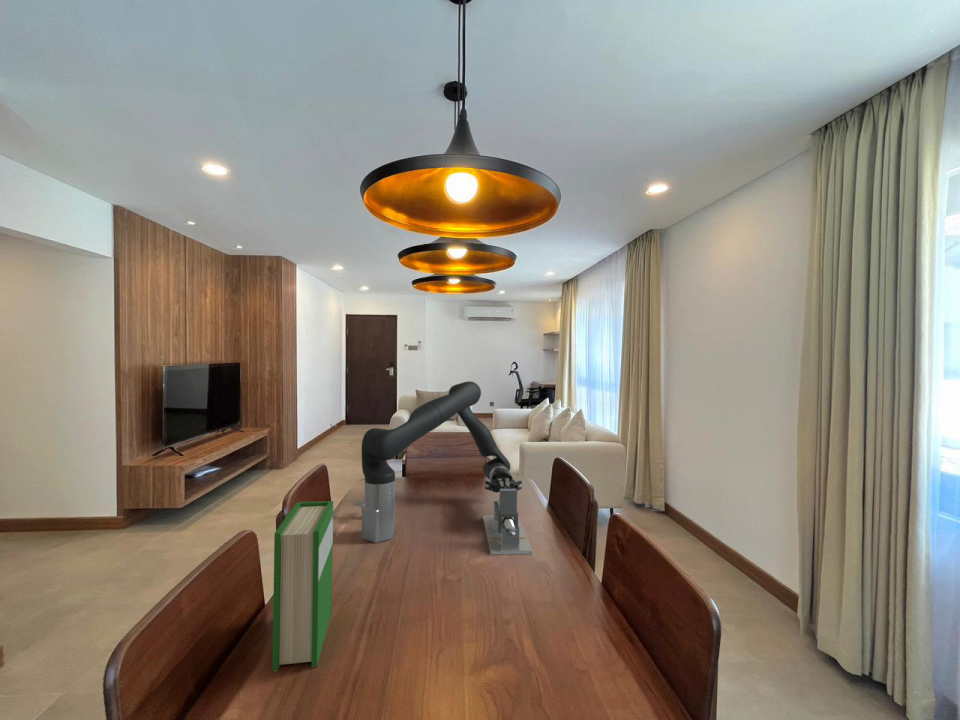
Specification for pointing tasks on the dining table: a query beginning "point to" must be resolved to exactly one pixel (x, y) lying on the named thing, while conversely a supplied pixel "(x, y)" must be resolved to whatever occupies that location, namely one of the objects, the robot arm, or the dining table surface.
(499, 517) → the grey tall slab
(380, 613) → the dining table surface
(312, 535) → the hardback book
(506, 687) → the dining table surface
